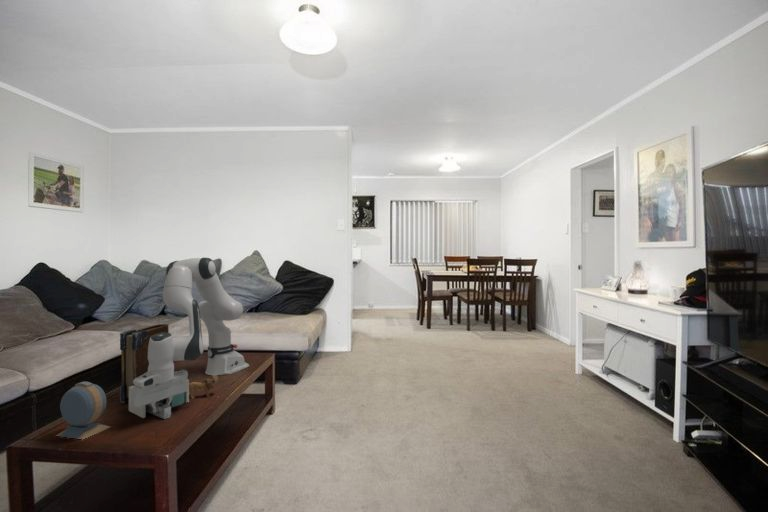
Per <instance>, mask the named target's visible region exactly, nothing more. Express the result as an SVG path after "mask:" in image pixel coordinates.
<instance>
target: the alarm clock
mask: <svg viewBox="0 0 768 512" xmlns="http://www.w3.org/2000/svg"><path fill="white" fill-rule="evenodd" d="M106 407H107V396H106V392H105V391H104V389H103V388H102V387H101V386H100V385H98V384H96V383H95V384H94V383H92V382H90V381H81V382H78V383H75V384H74V386H72V387H71V388H70V389H68V390H67V391H66V392H65V393H64V394H63V395H62V397H61V401H60V404H59V408H60V409H59V410H60V412H61V417H62V418H63V420H64V421H65V422H66V423H67V424H69V426H68V427H67V428H66V429H64V430H63V431H61V432H59V433H57V434H56V435H55V437H56V436H62V437H61V438H63V437H68V438H67V439H69V438H76V439H82V440H81V441H84V440H83V439H85V438H87V439H89V438H91V437H93V436H95V435H98V434H99V433H102V432H103V431H105V430H108V429H109V428H111V426H109V425H106V424H104V423H99V422H96V420H97V419H99V418H100V417H101V416H102V415H103V413H104V412H105V410H106ZM94 434H95V435H94ZM92 435H93V436H92ZM90 436H91V437H90ZM88 437H89V438H88ZM76 439H75V440H76ZM85 440H86V439H85Z"/></svg>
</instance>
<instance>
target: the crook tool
mask: <svg viewBox="0 0 768 512" xmlns="http://www.w3.org/2000/svg"><path fill="white" fill-rule="evenodd" d="M154 405H155V406H157V407H159V412H156V413H153V408H152V407H151V406H150V404H147V405H145V413H149V414H150V415H153V416H156V417H158V418H161V419H162V420H165V419H169V418H171V417H172V407H171V406H169V405H166V404H165V403H164V401H163V399H162V400H159V401H156V404H154Z"/></svg>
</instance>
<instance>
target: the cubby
mask: <svg viewBox="0 0 768 512" xmlns="http://www.w3.org/2000/svg"><path fill="white" fill-rule="evenodd" d="M187 379H188V378H187ZM189 384H190V379H188V385H189ZM134 386H135V385H134ZM134 386H131V387H129V401H128V412H130V413H133V414H134V415H137V416H138V417H140V418H142V419H144V418H146V411H145V405H143V406H140V407H137V408H136V407H133V406H132V405H131V403H130V398H131V391H132V388H133V387H134ZM189 395H190V393H189V389H188V391H187V392H184V403H185V404H187V402H188V403H190V396H189ZM164 401H166V398H165V399H163V402H164Z"/></svg>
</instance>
